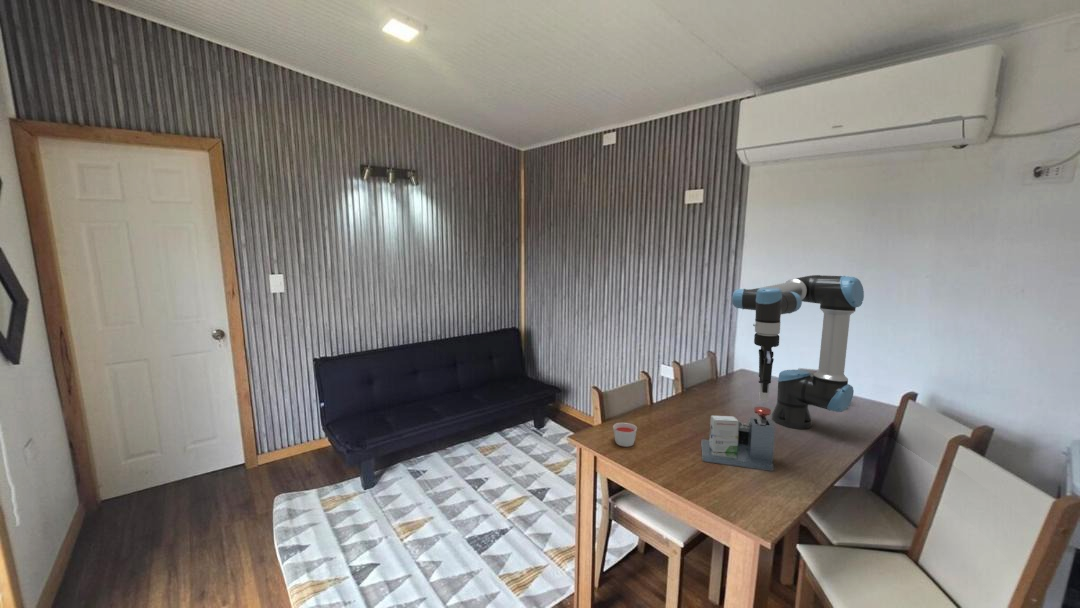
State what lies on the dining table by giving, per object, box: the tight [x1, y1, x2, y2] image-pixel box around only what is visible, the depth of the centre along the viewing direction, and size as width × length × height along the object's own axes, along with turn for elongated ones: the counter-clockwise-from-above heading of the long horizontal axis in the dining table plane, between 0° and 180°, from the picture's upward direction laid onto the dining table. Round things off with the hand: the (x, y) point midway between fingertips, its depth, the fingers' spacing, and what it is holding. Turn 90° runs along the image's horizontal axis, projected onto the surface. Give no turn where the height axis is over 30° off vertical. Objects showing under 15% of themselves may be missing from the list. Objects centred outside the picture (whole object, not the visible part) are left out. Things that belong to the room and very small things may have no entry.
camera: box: [738, 421, 749, 445], centre depth 163 cm, size 16×9×10 cm, turn 64°
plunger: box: [753, 406, 772, 425], centre depth 147 cm, size 5×9×15 cm, turn 161°
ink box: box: [708, 415, 740, 453], centre depth 151 cm, size 9×5×12 cm, turn 84°
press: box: [700, 417, 776, 472], centre depth 150 cm, size 22×14×14 cm, turn 71°
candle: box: [612, 422, 638, 448], centre depth 163 cm, size 9×9×6 cm
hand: (763, 400), depth 146 cm, fingers closed
